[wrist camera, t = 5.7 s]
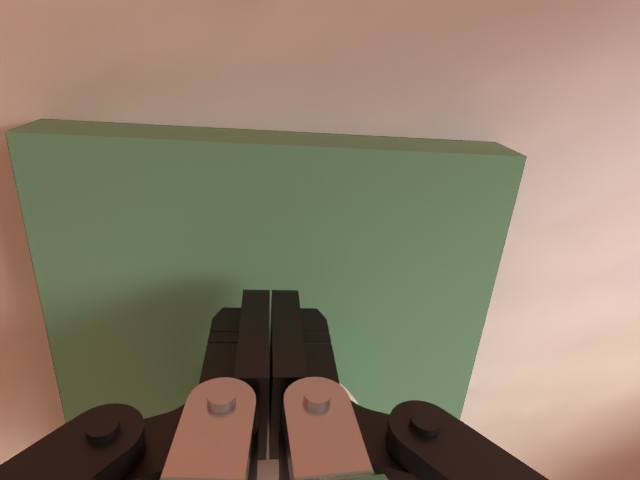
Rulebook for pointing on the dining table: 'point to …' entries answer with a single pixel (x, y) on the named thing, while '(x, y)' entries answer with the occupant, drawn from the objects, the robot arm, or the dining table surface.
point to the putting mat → (259, 251)
